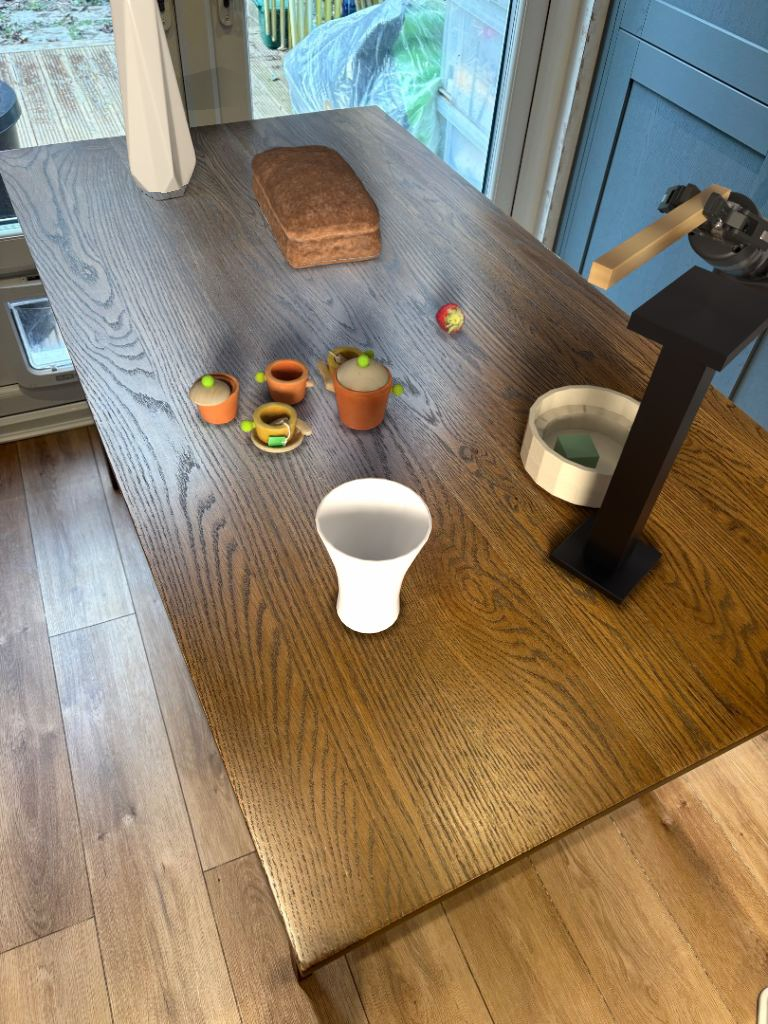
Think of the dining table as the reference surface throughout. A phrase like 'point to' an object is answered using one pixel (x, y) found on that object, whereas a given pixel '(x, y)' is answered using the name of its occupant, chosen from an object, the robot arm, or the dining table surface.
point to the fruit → (450, 318)
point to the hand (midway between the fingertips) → (698, 198)
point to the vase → (150, 99)
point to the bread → (315, 205)
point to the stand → (662, 420)
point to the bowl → (577, 415)
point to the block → (577, 449)
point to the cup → (372, 546)
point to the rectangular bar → (651, 240)
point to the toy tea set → (301, 396)
